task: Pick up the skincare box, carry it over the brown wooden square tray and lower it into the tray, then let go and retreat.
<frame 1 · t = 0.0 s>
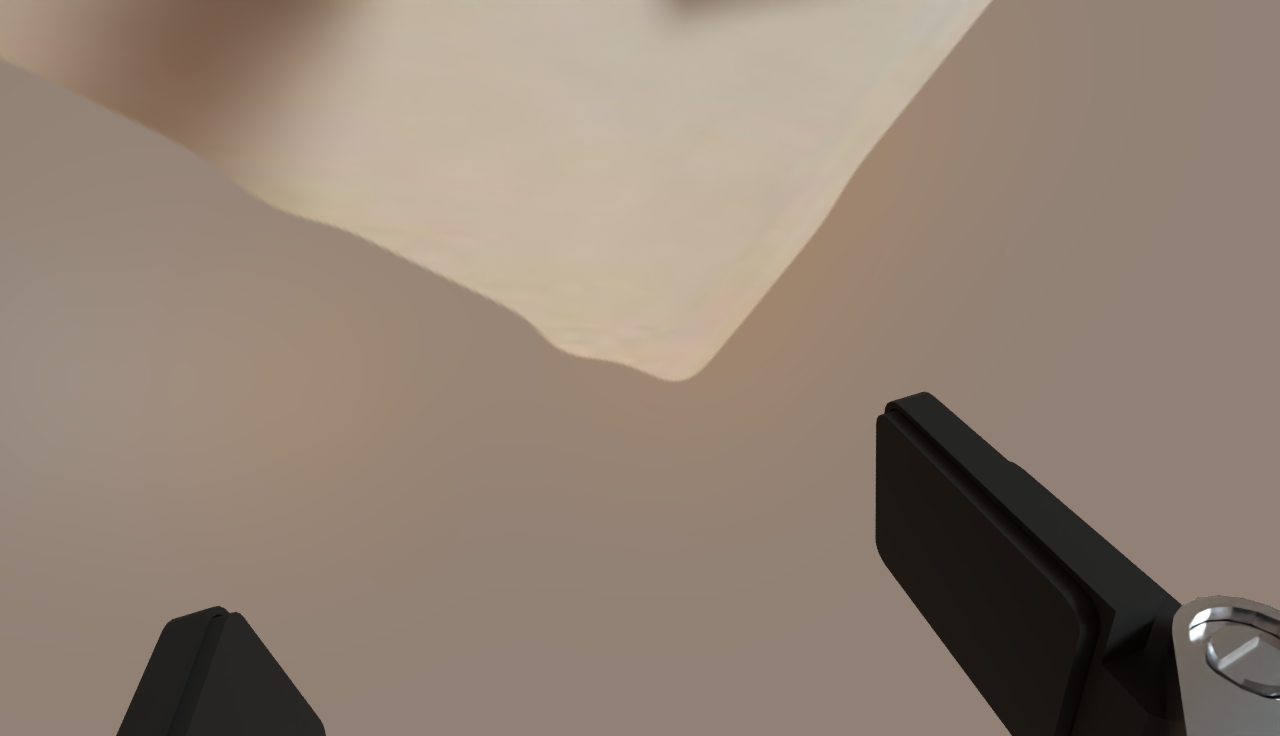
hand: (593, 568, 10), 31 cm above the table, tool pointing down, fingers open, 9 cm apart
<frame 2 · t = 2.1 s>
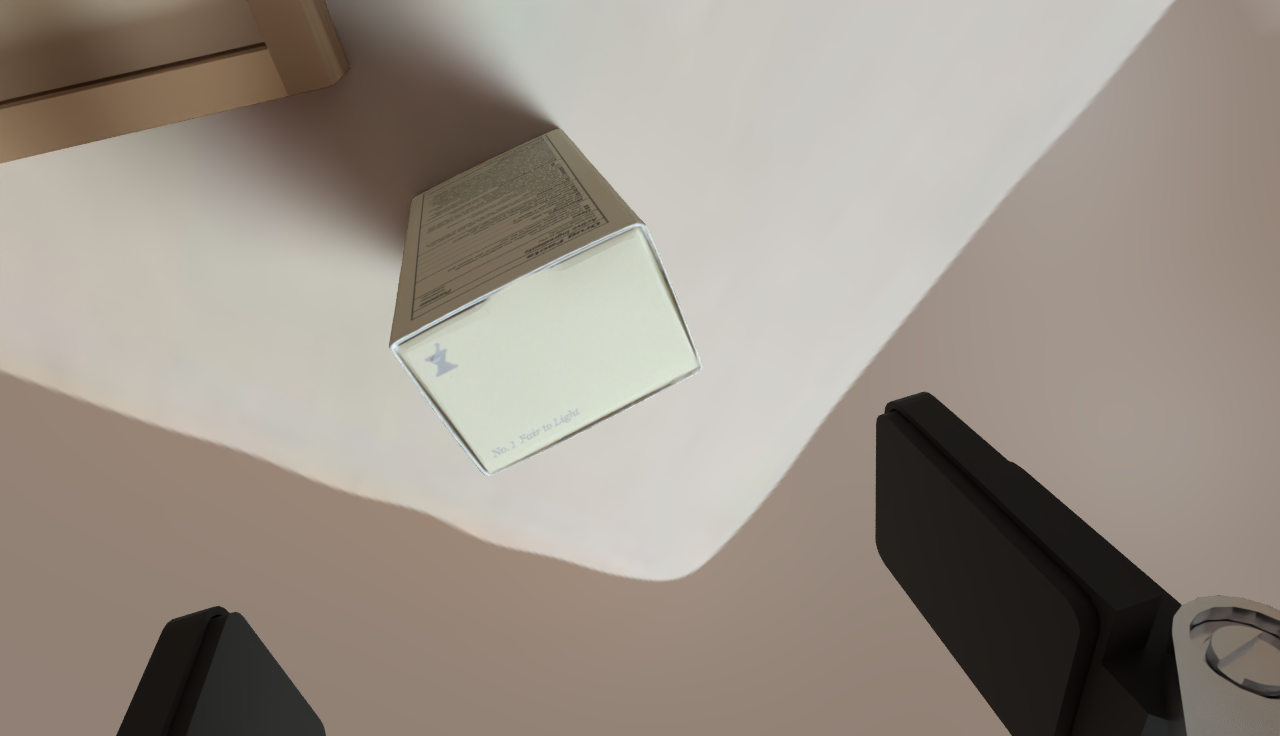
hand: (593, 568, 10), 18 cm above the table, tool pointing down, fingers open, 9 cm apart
skincare box: (513, 207, 26), on the table
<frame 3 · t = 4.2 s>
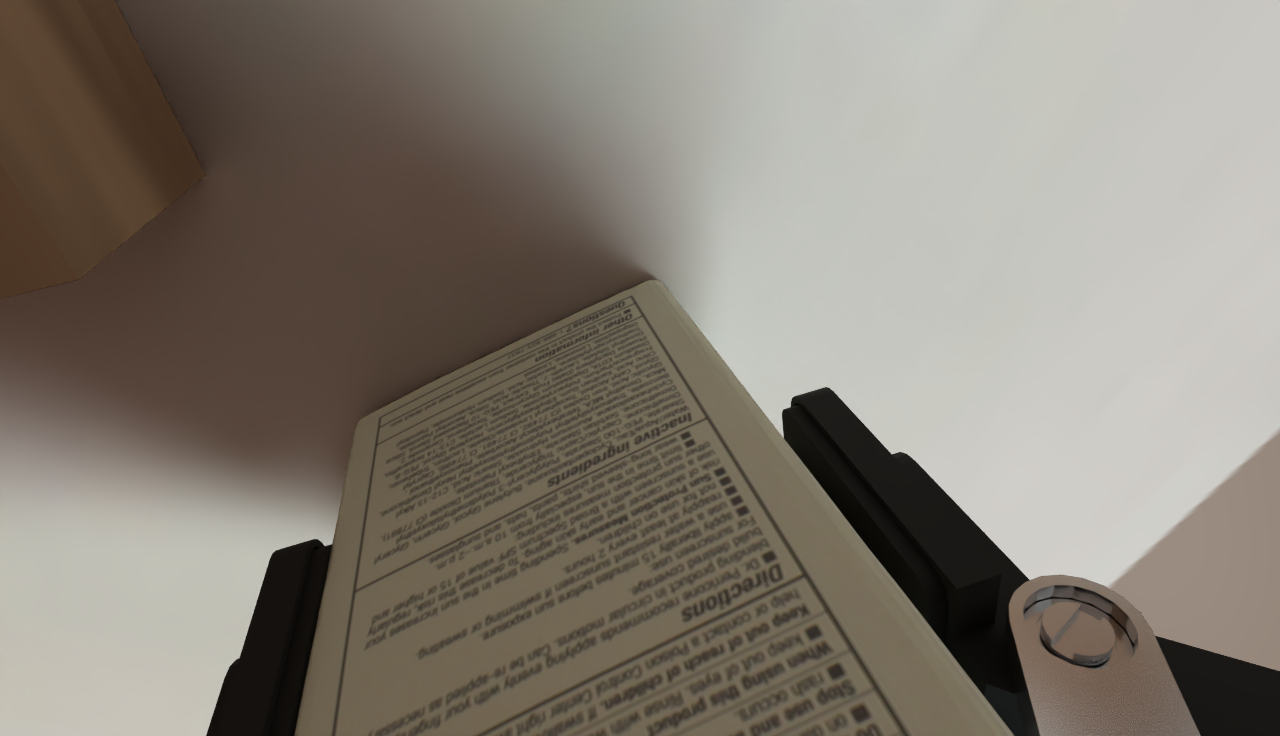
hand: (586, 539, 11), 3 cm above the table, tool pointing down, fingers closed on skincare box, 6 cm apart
skincare box: (557, 416, 13), on the table, touching gripper
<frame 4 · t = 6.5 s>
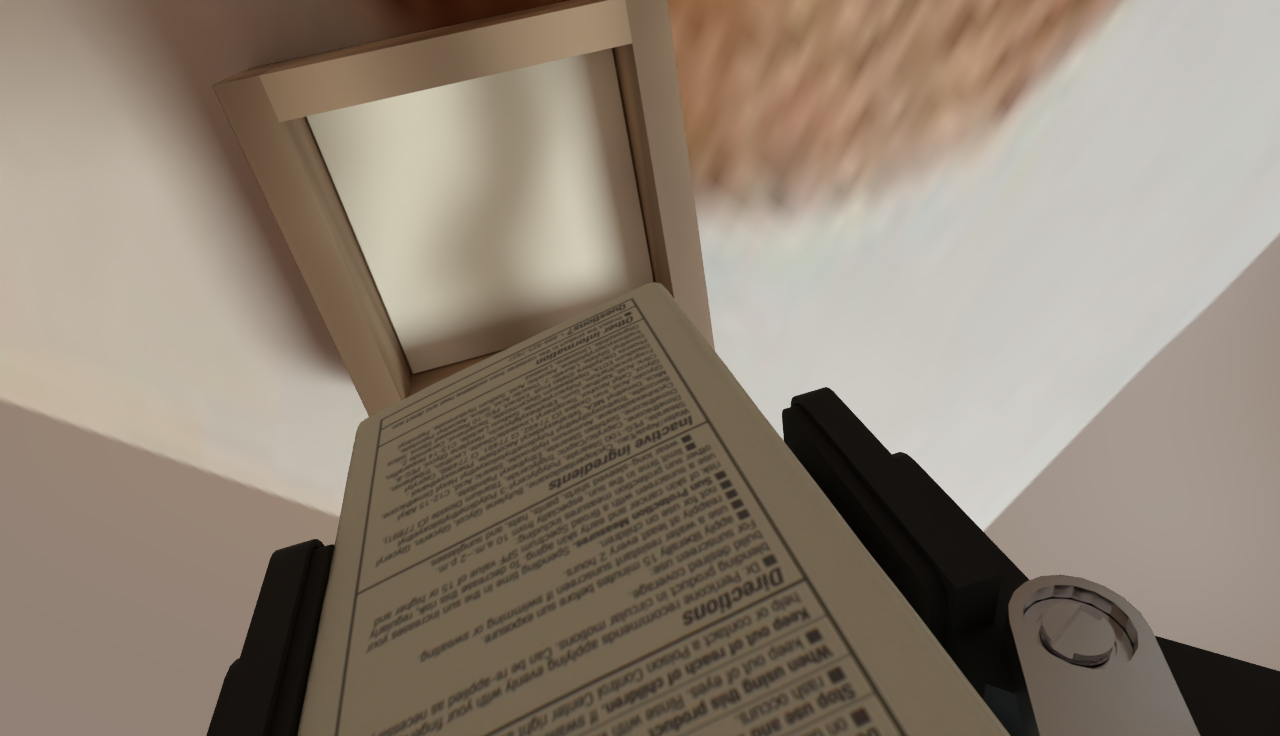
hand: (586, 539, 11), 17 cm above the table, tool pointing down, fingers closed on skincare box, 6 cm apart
brown wooden square tray: (501, 211, 25), on the table
skincare box: (558, 418, 14), point 14 cm above the table, touching gripper
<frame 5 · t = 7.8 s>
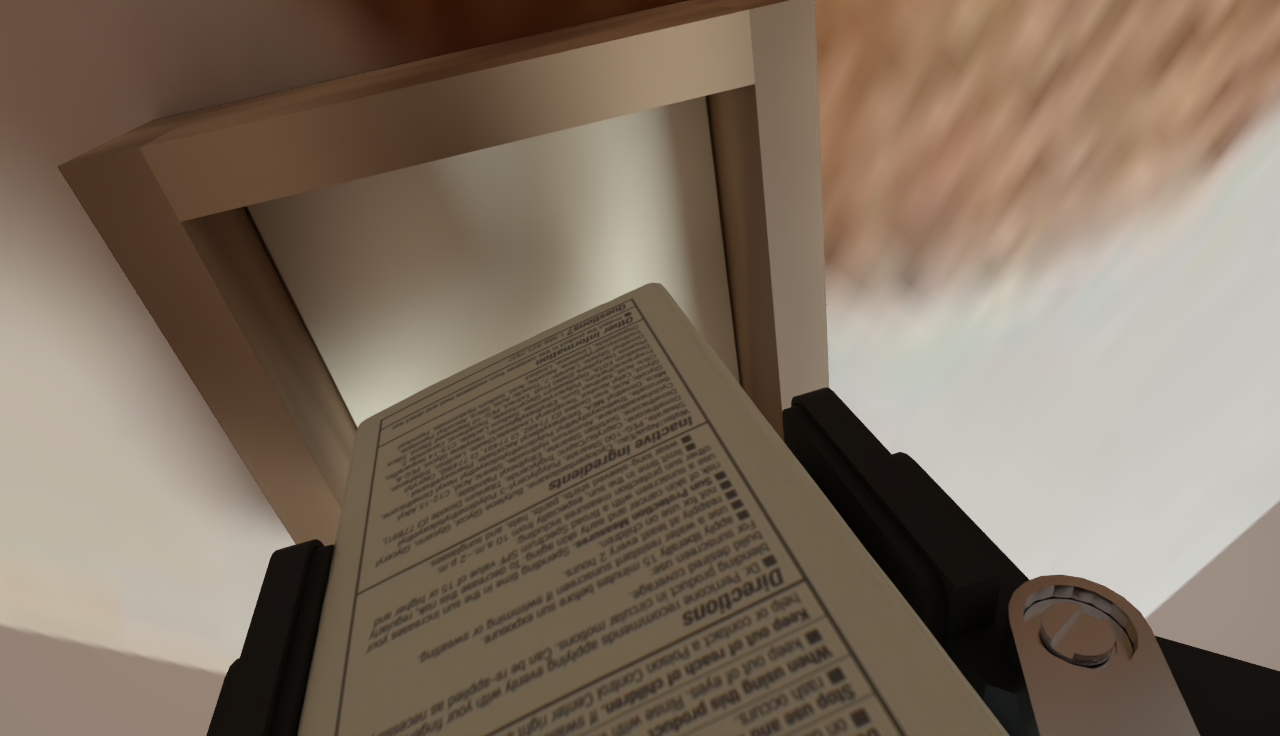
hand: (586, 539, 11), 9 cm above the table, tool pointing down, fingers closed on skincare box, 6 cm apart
brown wooden square tray: (532, 309, 18), on the table
skincare box: (558, 418, 14), point 5 cm above the table, touching gripper
when the fingers open (5 cm above the table, at t = 8.9 s): skincare box stays where it is, resting on brown wooden square tray.
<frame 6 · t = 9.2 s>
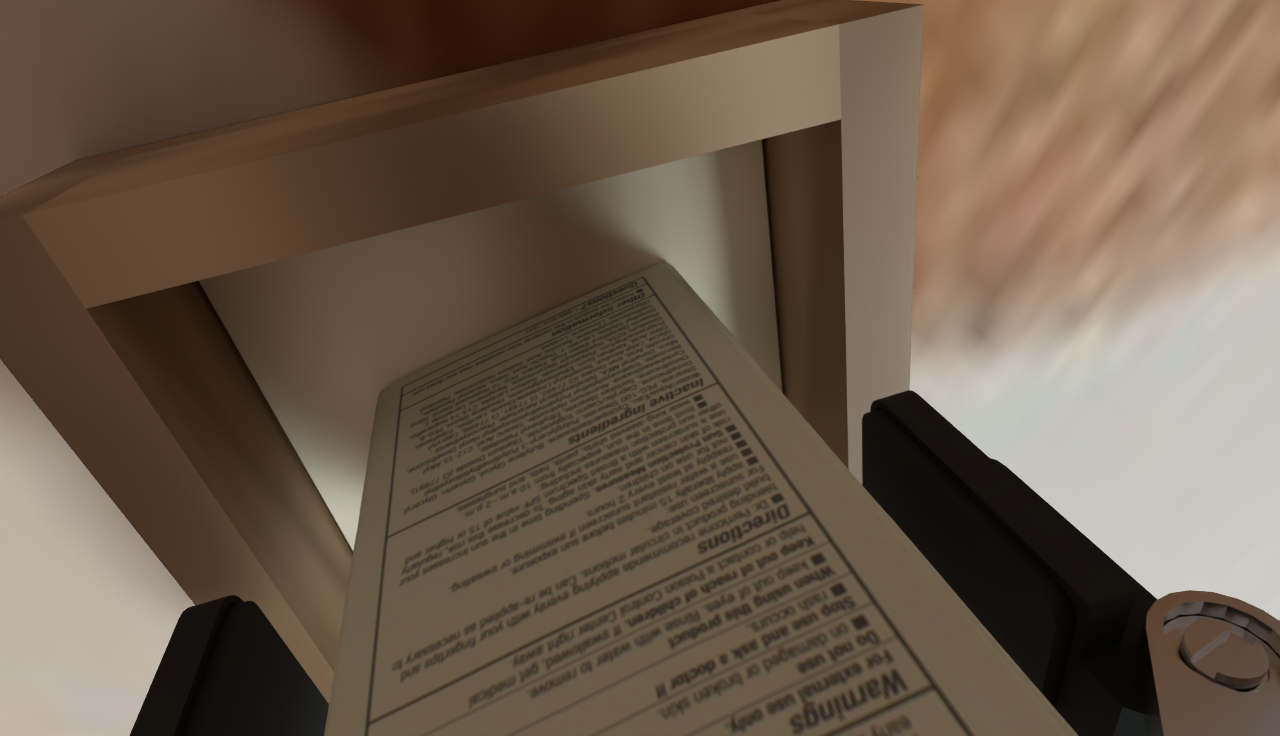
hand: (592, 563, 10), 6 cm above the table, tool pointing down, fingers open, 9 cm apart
brown wooden square tray: (545, 375, 15), on the table
skincare box: (568, 392, 14), point 1 cm above the table, touching brown wooden square tray
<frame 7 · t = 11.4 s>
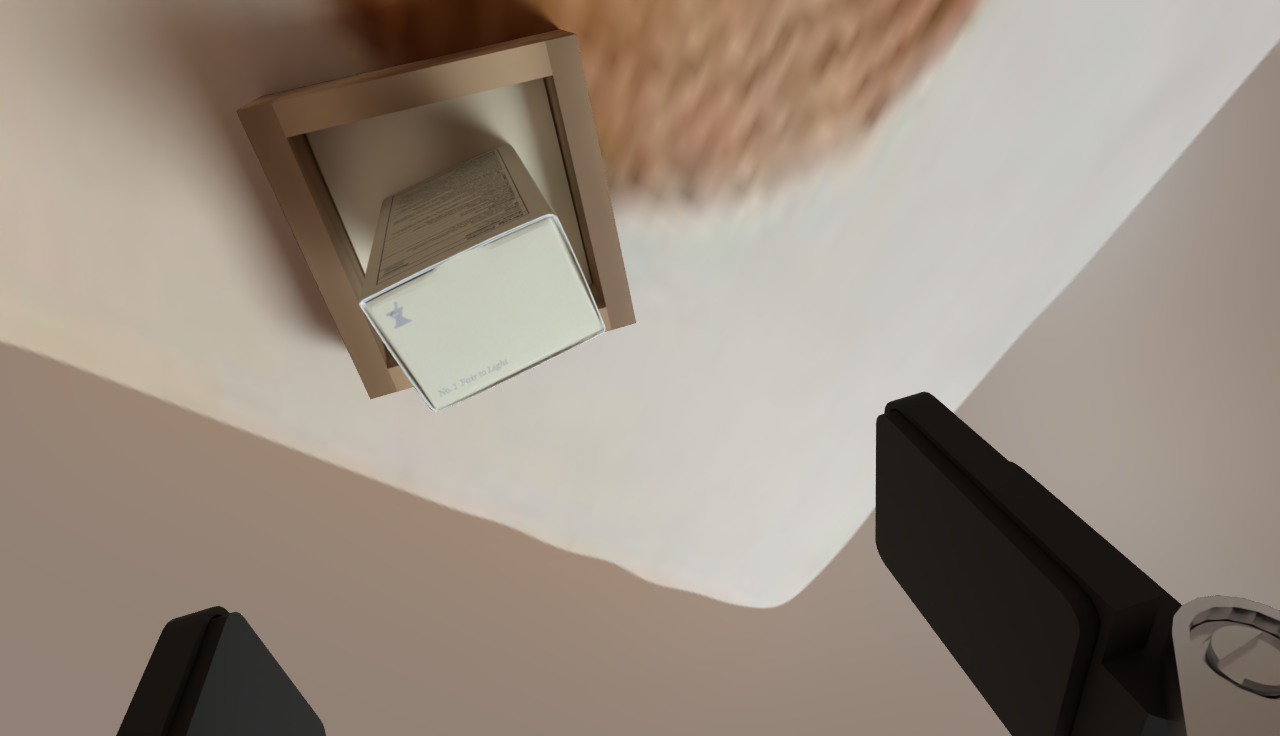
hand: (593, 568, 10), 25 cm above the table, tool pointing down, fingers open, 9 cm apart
brown wooden square tray: (461, 206, 31), on the table
skincare box: (470, 209, 31), point 1 cm above the table, touching brown wooden square tray
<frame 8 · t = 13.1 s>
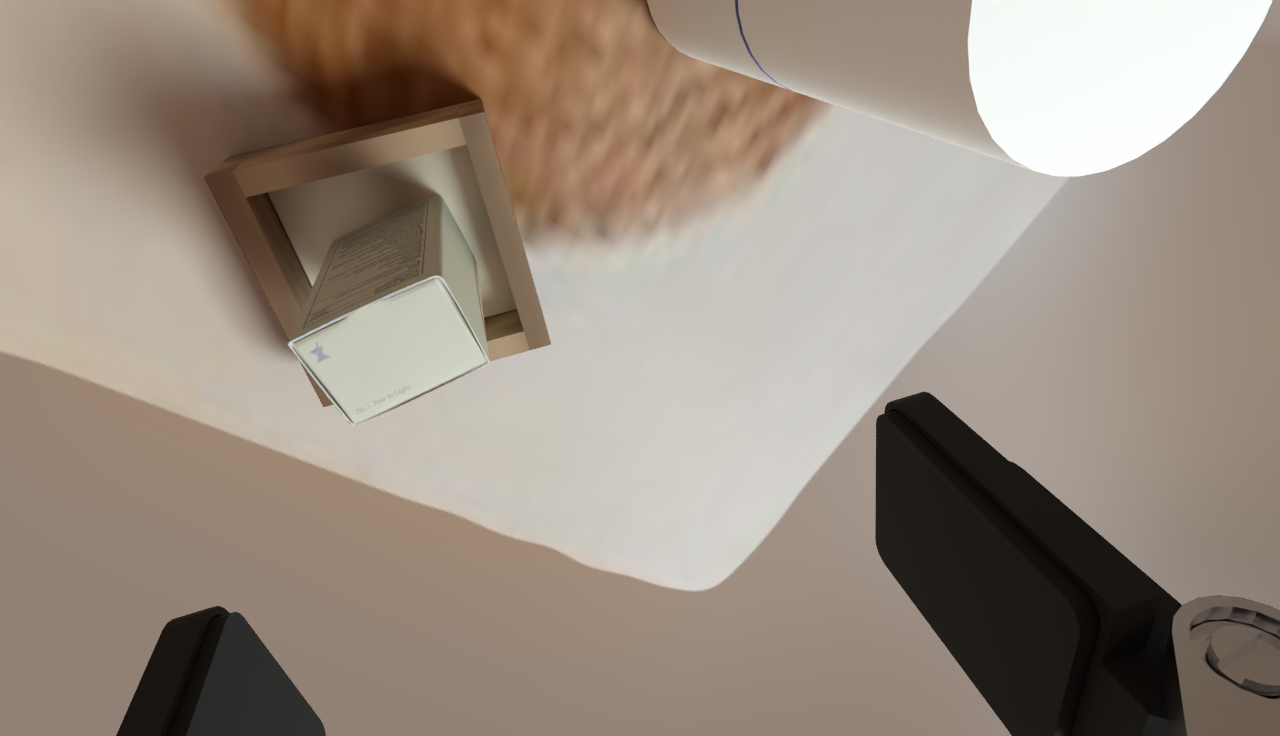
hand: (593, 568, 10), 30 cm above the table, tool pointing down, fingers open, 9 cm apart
brown wooden square tray: (402, 243, 37), on the table
skincare box: (408, 247, 36), point 1 cm above the table, touching brown wooden square tray
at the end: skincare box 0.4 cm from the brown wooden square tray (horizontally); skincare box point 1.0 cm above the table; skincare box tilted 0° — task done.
